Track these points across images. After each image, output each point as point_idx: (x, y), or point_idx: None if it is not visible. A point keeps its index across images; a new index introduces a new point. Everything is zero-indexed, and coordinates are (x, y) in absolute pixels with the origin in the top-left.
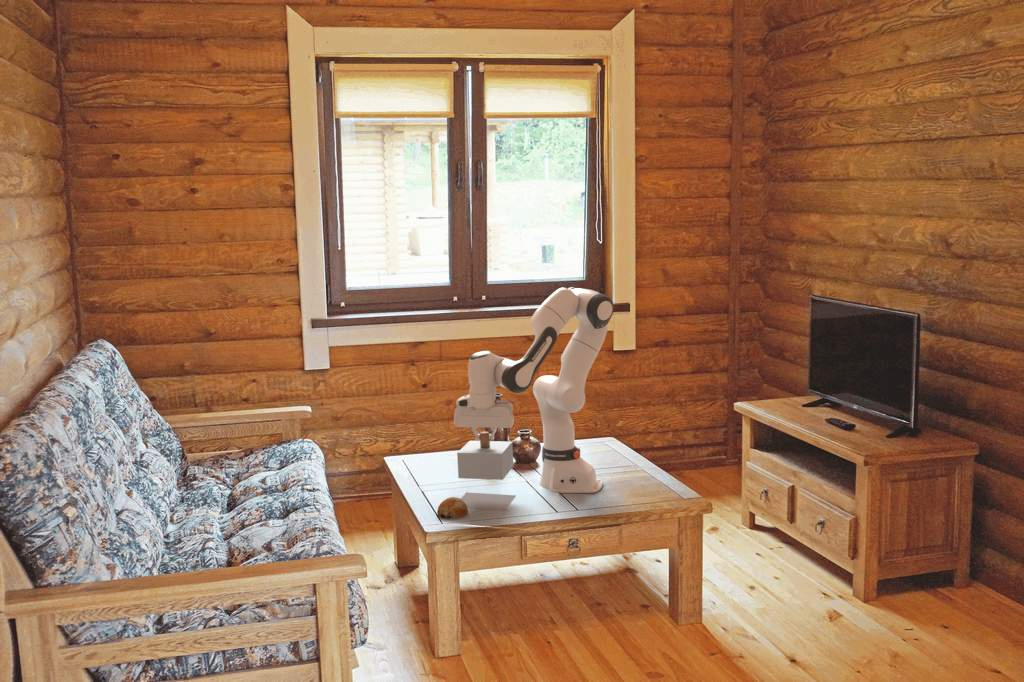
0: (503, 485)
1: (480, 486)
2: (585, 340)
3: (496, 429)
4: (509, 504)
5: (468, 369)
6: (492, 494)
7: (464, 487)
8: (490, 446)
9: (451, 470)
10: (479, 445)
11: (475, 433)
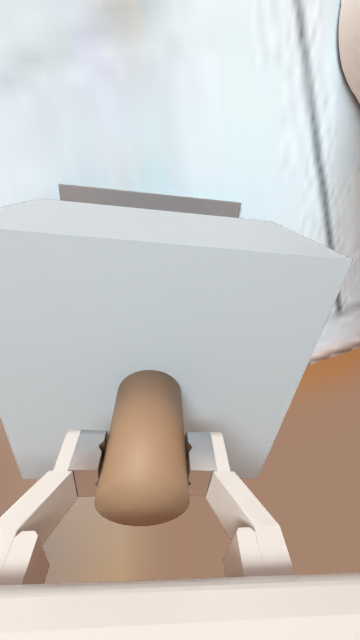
0: (178, 29)
1: (79, 59)
2: None
3: (273, 535)
4: None
5: None
6: (159, 200)
7: (14, 84)
8: (182, 382)
9: None
10: (96, 363)
11: (58, 516)
